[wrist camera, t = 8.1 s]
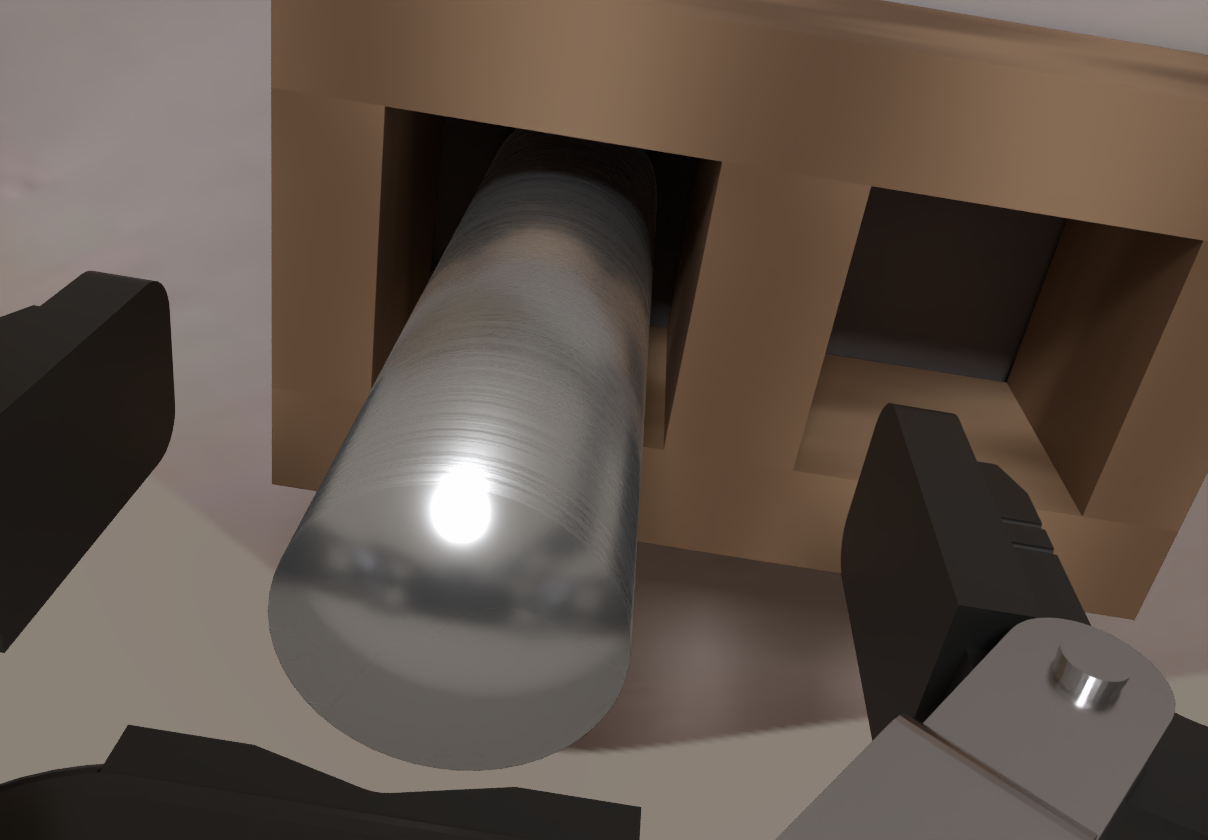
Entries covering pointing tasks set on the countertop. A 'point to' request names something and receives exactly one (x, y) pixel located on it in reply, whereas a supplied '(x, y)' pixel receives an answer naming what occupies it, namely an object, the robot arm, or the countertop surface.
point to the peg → (490, 481)
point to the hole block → (780, 244)
